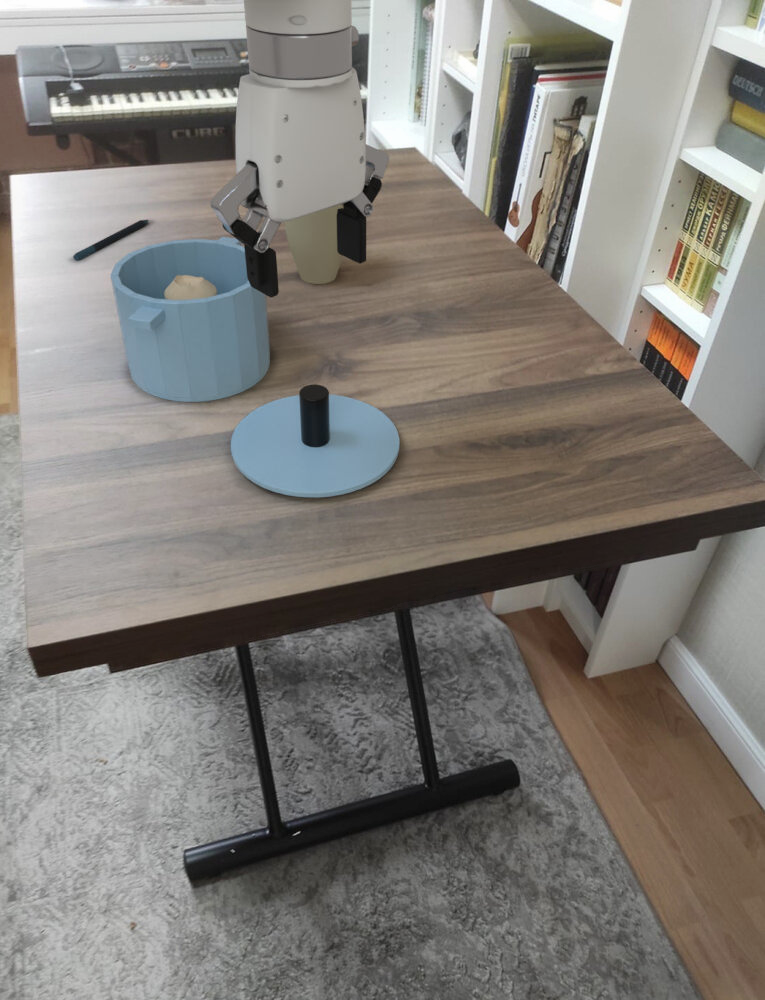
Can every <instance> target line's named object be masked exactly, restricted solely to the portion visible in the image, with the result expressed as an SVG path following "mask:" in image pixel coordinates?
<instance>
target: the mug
mask: <svg viewBox="0 0 765 1000" xmlns="http://www.w3.org/2000/svg"><path fill="white" fill-rule="evenodd" d="M340 208H343V206H342V205H341V204H340V205H337V206H334V207H331V208H328V209H325V210H322V211H319V212H316V213H313V214H310V215H307V216H304V217H300V218H297V219H294V220H291V221H287V222H283V223H284V224H283V225H284V232H285V235H286V240H287V241H286V242H287V244H288V247H289V250H290V254H291V256H292V259H293V261H294V263H295V266H296V269H297V272H298V274H299V277H300V279H301V280H302V281H303V282H305V283H308V284H311V285H324V284H329V283H331V282H333V281H335V280H336V278H337V275H338V273H339V269H340V266H341V263H342V260H343V256H342V255H340V254H339V253H338V251H337V209H340Z"/></svg>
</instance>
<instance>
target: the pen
mask: <svg viewBox="0 0 765 1000" xmlns="http://www.w3.org/2000/svg"><path fill="white" fill-rule="evenodd" d="M148 222H149V219H141V220H139V221H136V222H134V223H132V224H130V225H128V226H127V227H125V228H123V229H120V230H117V232H115V233H113V234H110V235H109V236H107V237H105V238H103V239H101V240H99V241H97V242H95V243H93V244H91V245H89V246H87V247H85V248H84V249H81V250H79V251H78V252H75V253H74V254H73V256H72V258H73V259H74V261H76V262H78V261H81V260H83V259H84V258H87V257H88V256H90V255H92V254H94V253H96V252H98V251H100V250H102V249H104V248H106V247H107V246H109V245H111V244H113V243H116V242H117V241H120V240H121V239H123V238H125V237H126V236H128V235H131V234H132V233H135V232H137V231H138V230H140V229H142V228H144V227H145V226H146V225H147V224H148Z"/></svg>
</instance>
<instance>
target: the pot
mask: <svg viewBox="0 0 765 1000" xmlns="http://www.w3.org/2000/svg"><path fill="white" fill-rule="evenodd" d="M178 275H180V276H183V275H190V276H193V277H203V278H204V279H206V280H207V281H209V282H210V283H212V284H213V285H214V286H215V287H216V289H217V295H216V296H212V297H208V298H201V299H189V300H167V299H165V295H164V292H165V290H166V288H167V287H168V286H169V285H170V284H171V282H172V281H173V280H174V279H175V277H176V276H178ZM110 281H111V285H112V290H113V297H114V301H115V306H116V311H117V316H118V321H119V327H120V331H121V335H122V341H123V347H124V352H125V357H126V362H127V368H128V369H129V370H128V371H129V373H130V376H131V379H132V381H133V382H134V384H135V385H136V387H138V388H139V389H141V390H142V391H143V392H145V393H147V394H149V395H151V396H153V397H156V398H160V399H163V400H168V401H173V402H183V403H200V402H201V403H202V402H210V401H217V400H222V399H226V398H229V397H233V396H236V395H239V394H241V393H243V392H245V391H247V390H249V389H251V388H253V387H254V386H256V384H258V383H259V382H261V380H263V378H264V377H265V376H266V374H267V373H268V371H269V370H270V369H269V368H270V365H271V360H270V359H271V347H270V346H271V345H270V334H269V332H270V331H269V319H268V303H267V295H265V294H263V293H262V292H260V291H258V290H256V289H254V288H253V287H251V285H250V283H249V281H248V278H247V269H246V259H245V248H244V245H242V243H241V242H239V241H238V240H237V239H236V238H235V237H234V238H233V237H227V236H221V237H220V238H218V239H205V238H190V239H174V240H167V241H163V242H159V243H154V244H148V245H146V246H144V247H142V248H139V249H136V250H134V251H131V252H128V253H127V254H126V255H125V256H123V257H122V258H121V259H120V260H118V261H117V262H115V264H114V266H113V268H112V271H111V273H110Z"/></svg>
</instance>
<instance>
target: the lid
mask: <svg viewBox="0 0 765 1000" xmlns="http://www.w3.org/2000/svg"><path fill="white" fill-rule="evenodd" d="M298 392H299V393H298V394H297V395H292V396H291V395H290V396H286V397H282V398H279V399H275V400H271V401H270V402H268V403H264V404H263V405H261V406H259V407H256V409H254V410H252V411H251V412H249V413H248V414H247V415H246V416H244V417H243V418H242V419H241V420H240V422H238V424H237V425H236V427H235V429H234V430H233V433H232V435H231V439H230V455H231V458H232V461H233V462H234V464H235V467H236V468H237V469H238V471H239V472H240V473H241V474H242V475H243V476H244V477H245V478H247V479H248V480H249V481H251V482H252V483H254V484H255V485H257V486H259V487H261V488H263V489H265V490H268V491H271V492H273V493H277V494H281V495H285V496H290V497H297V498H327V497H329V498H330V497H336V496H342V495H346V494H349V493H353V492H356V491H359V490H361V489H364V488H366V487H368V486H370V485H372V484H374V483H376V482H377V481H378V480H380V479H381V478H382V477H384V476H385V475H386V474H388V472H389V471H390V470H391V469H392V468H393V466H394V464H395V463H396V461H397V459H398V456H399V454H400V446H401V443H400V441H401V440H400V436H399V435H400V434H399V432H398V429H397V427H396V426H395V424H394V422H393V421H392V420H391V419H390V418H389V417H388V416H387V415H386V414H385V413H384V412H383V411H381V410H380V409H378V408H377V407H376V406H373V405H372V404H369V403H367V402H365V401H362V400H359V399H356V398H353V397H348V396H344V395H340V394H339V395H337V394H330V391H329V389H328V388H327V387H325V386H324V385H322V384H315V383H314V384H313V383H312V384H308V385H304V386H303V387H301V388H300V390H299V391H298Z"/></svg>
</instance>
